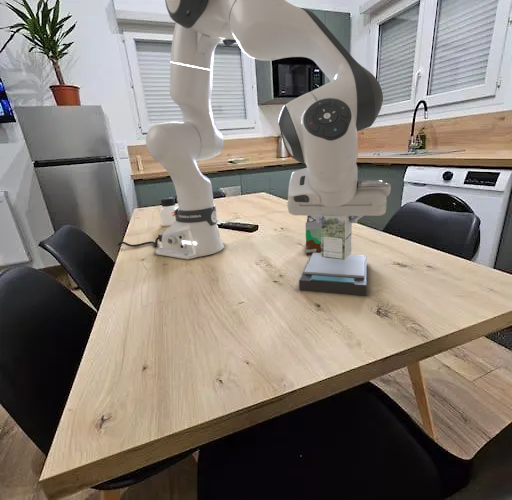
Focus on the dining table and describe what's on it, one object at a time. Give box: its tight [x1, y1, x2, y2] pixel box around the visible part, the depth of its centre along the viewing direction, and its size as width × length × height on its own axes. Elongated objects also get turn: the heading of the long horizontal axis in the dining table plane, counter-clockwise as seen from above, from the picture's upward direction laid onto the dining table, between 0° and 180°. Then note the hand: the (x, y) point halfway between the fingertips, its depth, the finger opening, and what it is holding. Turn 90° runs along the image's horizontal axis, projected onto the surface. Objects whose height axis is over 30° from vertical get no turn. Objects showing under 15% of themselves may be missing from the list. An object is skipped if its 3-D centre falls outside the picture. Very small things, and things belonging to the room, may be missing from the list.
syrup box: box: [321, 216, 353, 260], centre depth 69 cm, size 6×6×14 cm
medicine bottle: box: [158, 197, 179, 227], centre depth 136 cm, size 7×7×12 cm
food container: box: [305, 215, 322, 256], centre depth 89 cm, size 12×6×10 cm, turn 168°
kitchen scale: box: [298, 252, 368, 297], centre depth 71 cm, size 14×17×3 cm
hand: (336, 220), depth 69 cm, fingers closed on syrup box, 6 cm apart
